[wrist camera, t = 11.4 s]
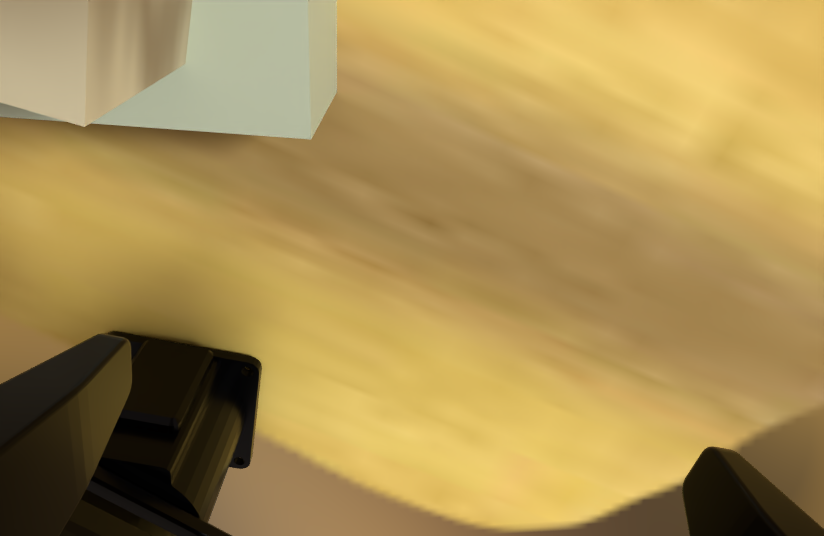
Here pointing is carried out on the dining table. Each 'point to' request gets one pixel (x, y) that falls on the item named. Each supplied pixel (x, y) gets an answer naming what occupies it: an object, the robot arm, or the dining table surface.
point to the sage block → (241, 72)
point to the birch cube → (87, 53)
